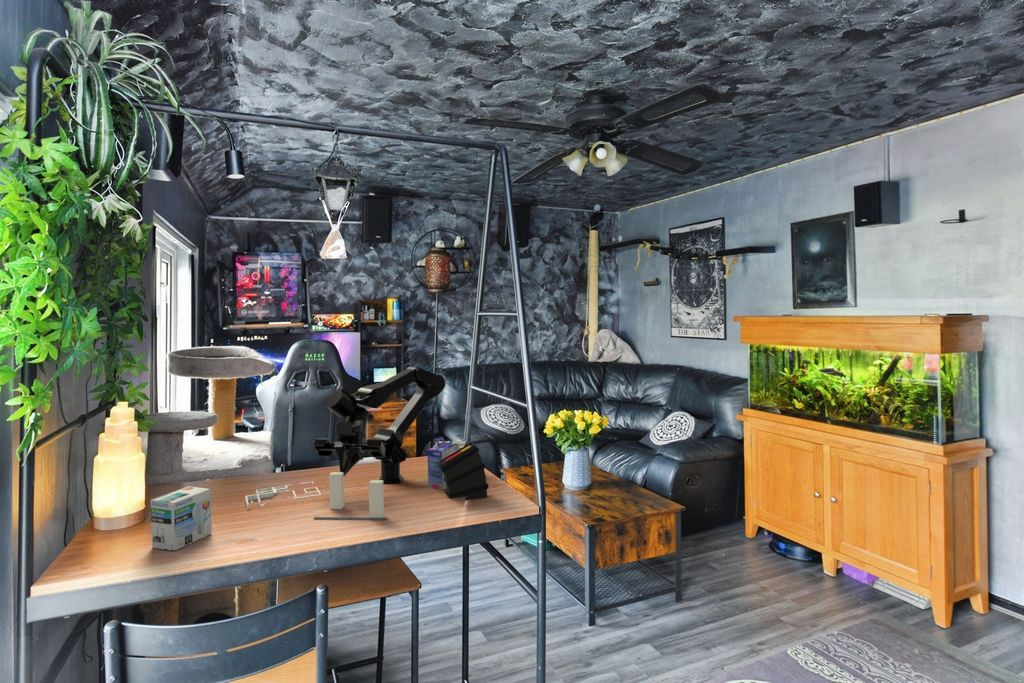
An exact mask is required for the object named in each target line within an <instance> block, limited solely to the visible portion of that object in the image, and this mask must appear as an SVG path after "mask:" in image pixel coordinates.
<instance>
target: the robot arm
mask: <svg viewBox="0 0 1024 683" xmlns="http://www.w3.org/2000/svg"><path fill="white" fill-rule="evenodd" d="M412 383H415V384H416V385H415V392H414V394H413V396H412V397H411V398H410V400H408V402H407V403H406V405H405V406H404V408H403V409H402V410H401V411H400V413H399V414H398V415H397V417H396V418H395V419H394V421H393V422H392V423H391V425H390V426H389V427H387V428H383V427H380V428H379V429H378V430H377V432H376V434H375V435H374V436H373V437H372V438H368V439H366V442H365V443H363V439H365V437H366V432H365V430H366V427H367V424H368V421H372V420H375V417H374V415H373V414H372V413H371V410H368V409H367V408H369V409H370V408H371V409H378V408H380V407H381V406H382V405H383V404H385V403H386V402H387V401H388V398H389V397H390V396H391V395H393V394H394V393H396V392H398V391H400V390H402V389H404V388H405V387H408V386H409V385H411V384H412ZM445 388H446V380H445V377H444V376H443V375H442V374H438V373H434V372H431V371H428V370H426V369H424V368H422V367H421V366H414V365H413V366H411V365H410V366H408V367H406V369H404V370H403V371H401V372H398V373H397V374H395V375H393V376H390V377H389V378H387V379H385V380H384V381H383V380H382V381H381V382H379V383H374V384H368V385H365V386H362V387H360V388H358V389H357V391H356V392H355V393H352V394H351V393H350V392H349V391H348V390H347V389H346V388H345V387H340V386H339V387H338V388H337V390H335V391H333V392H331V393H330V395H328V396H326V397H327V398H326V399H325V401H324V405H325V407H327V409H329V410H330V411H331V412H333V414H335V415H336V416H338V417H339V418H341V419H345V418H346V419H345V421H344V422H343V421H337V422H335V428H334V435H336V436H337V438H336V439H337V441H335V442H334V443H333V442H332V441H331V439H330V438H324V437H321V438H319V437H318V438H315V439H314V440H313V443H312V448H313V450H314V452H315V453H316V455H317V457H320V458H330V457H332V456H333V455H334V456H335V457H336V459H337V460H338V462H339V463H338V464H339V472H344V477H346V475H347V474H348V473H349V472H350V470H351V469H352V468H353V467H354V466H355V465H356V464H358V462H360V461H363V460H364V453H365V452H370V455H371V456H372V458H374V459H375V460H379V461H380V478H379V480H383V484H393V483H401V482H402V479H403V474H401V464H402V463H403V462H405V461H406V458H407V455H408V454H407V452H406V451H404V450H403V449H402V447H403V443H404V436H405V434H406V433H407V431H408V430H409V429H410V427H411V426H412V424H413V423H414V422H415V420H416V419H417V418H418V416H419V415H420V413H421V412H422V410H423V409H424V408H425V407H426V405H427V404H428V403H429V401H431V400H433V399H434V398H436V397H438V396H439V395H440V394H441V393H442V392H443V391H444V389H445Z"/></svg>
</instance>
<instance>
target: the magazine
mask: <svg viewBox="0 0 1024 683" xmlns="http://www.w3.org/2000/svg"><path fill="white" fill-rule="evenodd" d="M479 451H480V449H479V447H478V446H476V444H475V443H474V442H468V443H467V445H466V446H464V447H462V448H461V449H459V450H457V451H456V452H454V453H452V454H451V455H449V456H447V457H445V458H444V459H442V460H440V461H439V462H438V464H439V466H438V467H439V469H440V470H441V471H442V472H443V474H444V477H445V478H444V479H443V480H444V481H445V483H446V486H447V488H446V490H444V493H445V495H446V496H447V497H448V498H449V499H456V498H457V499H458V498H465V499H464V501H467V500H477V499H484V498H488V489H489V488H490V487H489V484H488V483H487V475H486V471H485V468H486V464H485V463H484V462H483V460H482V457H481V454H480V452H479Z"/></svg>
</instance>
